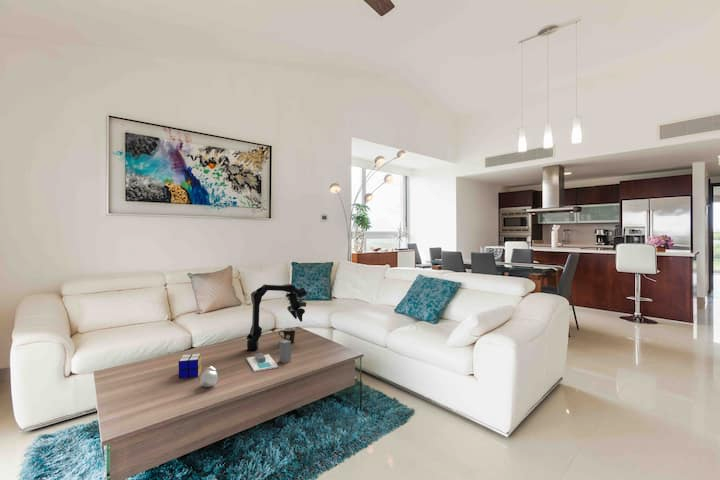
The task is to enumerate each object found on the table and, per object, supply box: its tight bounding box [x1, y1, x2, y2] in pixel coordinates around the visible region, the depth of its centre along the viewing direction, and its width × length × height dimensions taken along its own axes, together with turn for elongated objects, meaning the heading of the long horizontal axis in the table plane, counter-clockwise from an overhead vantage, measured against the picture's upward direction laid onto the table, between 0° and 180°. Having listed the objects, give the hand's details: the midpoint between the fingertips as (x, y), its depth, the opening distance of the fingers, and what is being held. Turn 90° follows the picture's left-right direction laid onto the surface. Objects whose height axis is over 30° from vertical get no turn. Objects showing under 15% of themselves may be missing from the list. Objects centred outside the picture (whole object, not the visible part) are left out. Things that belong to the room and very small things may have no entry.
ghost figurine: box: [199, 365, 219, 388], centre depth 182 cm, size 9×9×10 cm
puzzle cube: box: [178, 353, 202, 380], centre depth 196 cm, size 10×10×10 cm
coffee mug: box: [278, 327, 296, 345], centre depth 252 cm, size 12×9×10 cm
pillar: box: [278, 339, 292, 364], centre depth 217 cm, size 5×5×12 cm
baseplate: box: [246, 352, 279, 373], centre depth 213 cm, size 22×14×4 cm, turn 29°
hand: (298, 320), depth 256 cm, fingers open, 9 cm apart
